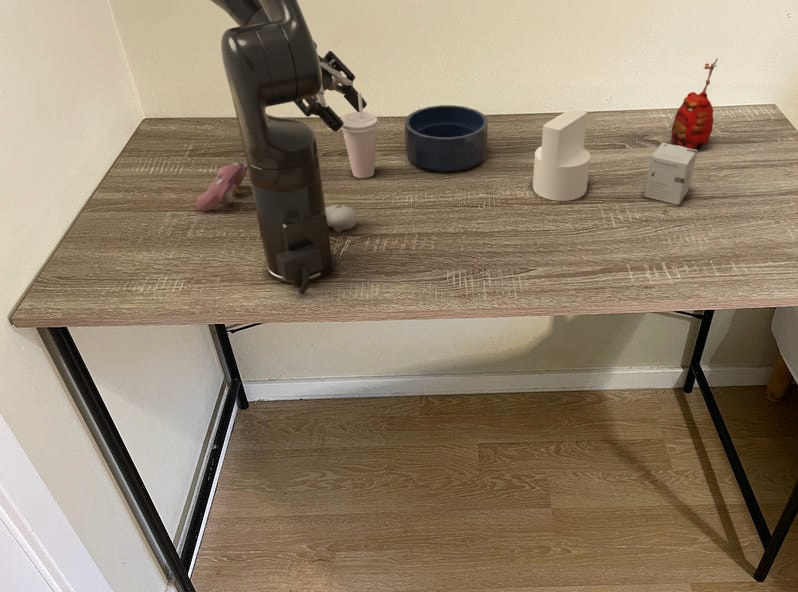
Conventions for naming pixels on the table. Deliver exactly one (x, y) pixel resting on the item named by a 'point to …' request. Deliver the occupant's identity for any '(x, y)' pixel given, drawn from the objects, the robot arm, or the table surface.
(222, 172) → the video game controller
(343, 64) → the robot arm
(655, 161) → the product carton
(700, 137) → the red clay folk toy
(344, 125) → the smoothie
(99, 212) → the table surface
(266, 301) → the table surface
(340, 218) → the white head bust
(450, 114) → the bowl
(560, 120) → the base with upright slab
